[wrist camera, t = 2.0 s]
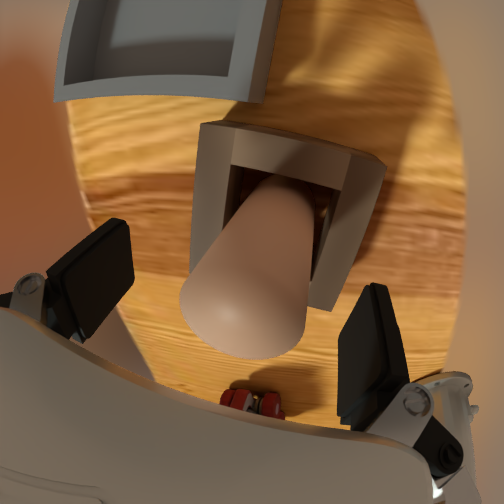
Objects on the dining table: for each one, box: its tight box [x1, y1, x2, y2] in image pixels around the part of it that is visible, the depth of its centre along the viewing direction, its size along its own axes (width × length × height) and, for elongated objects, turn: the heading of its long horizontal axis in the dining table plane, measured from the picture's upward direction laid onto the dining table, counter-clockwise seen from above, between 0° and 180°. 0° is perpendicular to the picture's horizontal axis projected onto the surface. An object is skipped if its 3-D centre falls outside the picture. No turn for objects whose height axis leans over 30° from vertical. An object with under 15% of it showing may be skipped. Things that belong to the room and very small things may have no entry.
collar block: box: [189, 120, 387, 312], centre depth 17 cm, size 10×10×4 cm
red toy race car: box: [220, 389, 285, 420], centre depth 28 cm, size 7×12×10 cm, turn 12°
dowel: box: [180, 174, 315, 360], centre depth 14 cm, size 4×4×11 cm
